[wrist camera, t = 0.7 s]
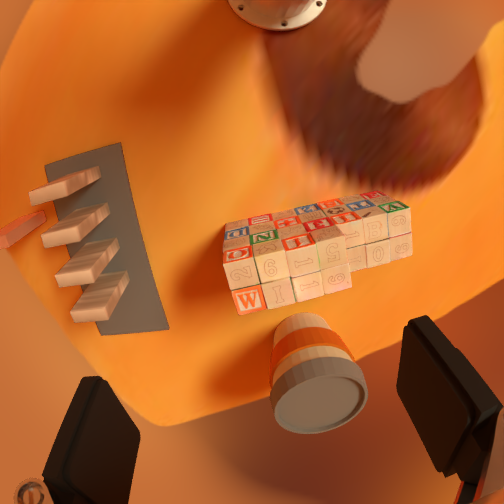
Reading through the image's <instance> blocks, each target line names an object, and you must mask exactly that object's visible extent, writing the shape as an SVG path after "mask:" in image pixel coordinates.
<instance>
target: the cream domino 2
mask: <svg viewBox="0 0 504 504" xmlns="http://www.w3.org/2000/svg"><path fill="white" fill-rule="evenodd" d="M109 214H110V210H109V206H108V202H106V203H101V204H97V205H93V206H88V207H84V208H80V209H76V210H75V211H73V212H72V213H71V214H69V215H68V216H66V217H65V218H63V219H62V220H61V221H59V222H58V223H57V224H55V225H54V226H52V227H51V228H50V229H48V230H47V231H46V232H44V233H43V234H42V235H41V238H42V241H43V244H44V247H45V248H50V247H55V246H59V245H64V244H69V243H74V242H79V241H81V240H82V239H83V238H84V237H85V236H86V235H87V234H88V233H89V232H90V231H91V230H93V229H94V228H95V227H96V226H97V225H98V224H99V223H100V222H101V221H103V220H104V219H105V218H106V217H107V216H108V215H109Z"/></svg>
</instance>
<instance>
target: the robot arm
mask: <svg viewBox="0 0 504 504" xmlns="http://www.w3.org/2000/svg"><path fill="white" fill-rule="evenodd" d="M326 1H327V0H228V3H229V5H230V6H231V8H232V9H233V11H234V12H235V13H236V14H237V15H238V16H239V17H240V18H242V19H243V20H245V21H246V22H248V23H250V24H252V25H254V26H256V27H259V28H262V29H266V30H273V31H289V30H294V29H298V28H301V27H303V26H306V25H307V24H309V23H311V22H312V21H313V20H314V19H316V18H317V17H318V16H319V14H320V13H321V12H322V11H323V9H324V7H325V5H326ZM316 4H318V5H319V6H317V5H316ZM240 8H242V9H243V10H242V11H240V10H239V9H240ZM281 24H285V26H282V25H281ZM396 387H397V392H398V395H399V397H400V399H401V401H402V403H403V404H404V407H405V408H406V410H407V412H408V414H409V416H410V418H411V420H412V422H413V424H414V426H415V428H416V430H417V432H418V434H419V436H420V438H421V440H422V442H423V444H424V446H425V448H426V450H427V452H428V454H429V456H430V458H431V460H432V462H433V464H434V466H435V468H436V470H437V471H438V472H443V474H444V476H445V478H446V477H448V476H450V475H453V474H455V473H457V474H458V476H459V478H460V480H461V483H460V486H459V489H458V492H457V495H456V498H455V501H454V503H453V504H504V407H503V405H502V404H501V403H500V401H499V400H498V398H497V397H496V396H495V394H493V392H492V390H491V389H490V388H489V386H488V385H487V384H486V383H485V381H484V380H483V379H482V378H481V376H480V375H479V374H478V372H477V371H476V370H475V369H474V367H473V366H472V365H471V364H470V362H469V361H468V360H467V359H466V357H465V356H464V355H463V354H462V353H461V351H459V350H458V349H457V348H455V347H454V346H453V345H452V344H451V342H450V341H449V340H448V339H447V338H446V336H445V335H444V334H443V333H442V332H441V331H440V330H439V328H438V327H437V326H436V325H435V323H434V322H433V321H432V320H431V319H430V318H429V317H428V316H427V315H424V316H421V317H418V318H415V319H411V320H409V322H408V325H407V326H405V327H404V330H403V339H402V348H401V357H400V364H399V371H398V378H397V385H396ZM139 443H140V432H139V430H138V428H137V427H136V425H135V424H134V422H133V421H132V420H131V418H130V416H129V415H128V413H127V412H126V410H125V409H124V407H123V406H122V404H121V403H120V401H119V400H118V398H117V396H116V395H115V393H114V392H113V390H112V388H111V387H110V385H109V384H108V382H107V381H106V380H103V379H102V377H100V376H89V377H83V378H82V379H81V381H80V384H79V386H78V388H77V390H76V393H75V395H74V397H73V399H72V402H71V404H70V406H69V408H68V411H67V413H66V415H65V417H64V420H63V422H62V424H61V427H60V429H59V432H58V434H57V437H56V439H55V442H54V444H53V447H52V449H51V452H50V454H49V457H48V460H47V462H46V465H45V468H44V470H43V473H42V476H43V477H44V480H43V481H41V480H40V479H37V478H29V479H26V480H24V481H22V482H21V483H20V484H19V485H18V487H17V488H16V490H15V493H14V503H15V504H128V501H129V494H130V490H131V484H132V479H133V473H134V468H135V463H136V458H137V453H138V448H139Z"/></svg>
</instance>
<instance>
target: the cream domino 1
mask: <svg viewBox="0 0 504 504" xmlns="http://www.w3.org/2000/svg"><path fill="white" fill-rule="evenodd" d="M99 178H101V172H100V168H99V166H96V167H92V168H88V169H85V170H81V171H78V172H74V173H71V174H68V175H65V176H63V177H61V178H59V179H56V180H54V181H52V182H50V183H47V184H45V185H43V186H41V187H39V188H37V189H34V190H32V191H30V192H28V194H29V197H30V201H31V205H32V206H35V205H38V204H42V203H45V202H48V201H52V200H55V199H59V198H63V197H66V196H68V195H70V194H72V193H74V192H75V191H77V190H79V189H81V188H83V187H84V186H86V185H88V184H90V183H92V182H94V181H96V180H98V179H99Z"/></svg>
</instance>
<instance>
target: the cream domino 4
mask: <svg viewBox="0 0 504 504" xmlns="http://www.w3.org/2000/svg"><path fill="white" fill-rule="evenodd" d="M129 281H130V279H129V276H128V273H127V270H124V271H118V272H111V273H104V274H100V275H99V277H98V278H97V279H96V281H95V282H94V283H90V284H89V286H88V287H87V288H86V290H85V291H84V293H83V294H82V295H81V297H80V298H79V300H78V301H77V302H76V304H75V305H74V307H73V308H72V310H71V311H70V314H71V316H72V318H73V321H74V323H81V322H93V321H104V320H109V318H110V316H111V314H112V312H113V310H114V308H115V307H116V305H117V303H118V301H119V299H120V297H121V295H122V294H123V292H124V290H125V288H126V286H127V284H128V283H129Z"/></svg>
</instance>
